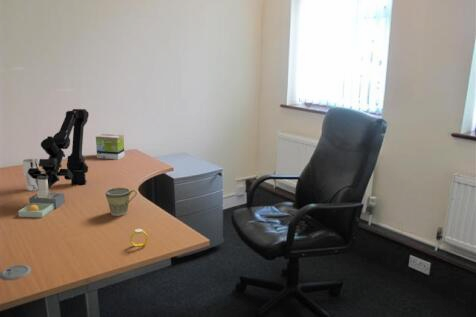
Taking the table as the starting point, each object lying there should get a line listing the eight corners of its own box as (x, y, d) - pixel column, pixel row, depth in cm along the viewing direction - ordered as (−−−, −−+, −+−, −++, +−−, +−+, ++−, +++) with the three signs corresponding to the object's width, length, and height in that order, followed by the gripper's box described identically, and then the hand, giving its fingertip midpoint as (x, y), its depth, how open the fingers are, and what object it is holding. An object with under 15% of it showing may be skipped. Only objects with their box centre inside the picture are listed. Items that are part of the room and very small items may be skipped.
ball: (36, 216, 178) (40, 209, 181) (35, 211, 175) (39, 203, 178) (27, 215, 178) (31, 207, 181) (26, 209, 175) (30, 201, 178)
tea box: (96, 158, 273) (94, 136, 270) (104, 155, 283) (102, 133, 280) (118, 159, 271) (117, 137, 267) (125, 156, 281) (123, 134, 277)
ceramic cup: (109, 219, 174) (107, 196, 172) (104, 211, 183) (103, 189, 181) (140, 213, 180) (139, 191, 178) (134, 206, 189) (133, 185, 186)
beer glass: (35, 191, 208) (31, 162, 204) (22, 190, 209) (19, 161, 206) (44, 187, 215) (41, 158, 211) (32, 186, 216) (28, 158, 212)
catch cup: (32, 208, 186) (31, 202, 186) (54, 208, 186) (53, 203, 185) (18, 216, 176) (18, 211, 176) (42, 217, 176) (41, 211, 175)
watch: (146, 243, 153) (147, 228, 152) (147, 246, 150) (148, 231, 149) (129, 244, 151) (130, 229, 150) (130, 248, 149) (130, 232, 147)
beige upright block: (40, 196, 188) (38, 176, 185) (50, 196, 187) (48, 176, 185) (37, 198, 185) (35, 177, 183) (47, 198, 185) (45, 177, 183)
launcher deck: (39, 201, 194) (38, 190, 193) (64, 202, 193) (63, 190, 192) (30, 208, 186) (28, 195, 185) (56, 208, 185) (55, 196, 184)
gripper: (27, 150, 189) (15, 181, 181) (67, 151, 188) (58, 182, 180) (38, 163, 198) (28, 193, 190) (76, 164, 197) (68, 194, 189)
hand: (45, 190), depth 187 cm, fingers closed, pressing on beige upright block
